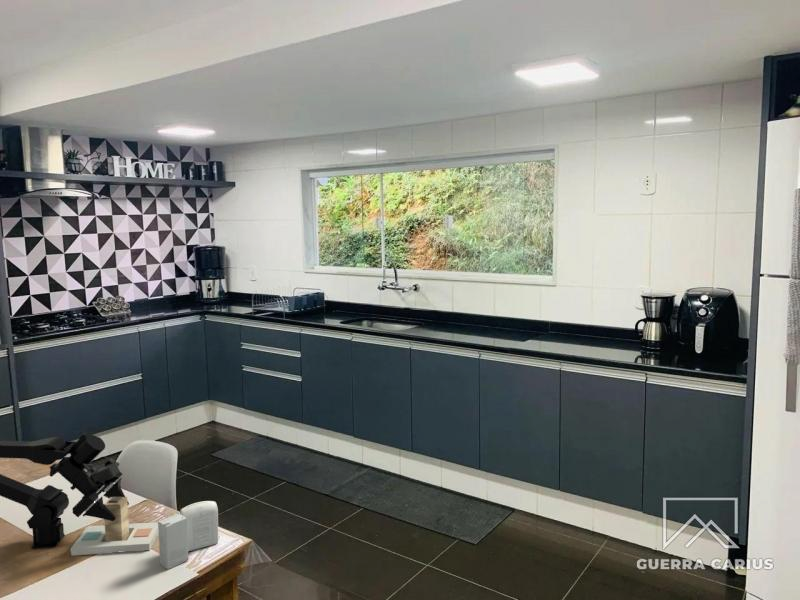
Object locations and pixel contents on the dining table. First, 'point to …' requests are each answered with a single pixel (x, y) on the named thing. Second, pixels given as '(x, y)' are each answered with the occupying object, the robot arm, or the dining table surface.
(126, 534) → the plug
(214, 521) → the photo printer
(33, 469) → the dining table surface
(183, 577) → the dining table surface
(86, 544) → the panel
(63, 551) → the dining table surface
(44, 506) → the robot arm
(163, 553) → the skincare box
